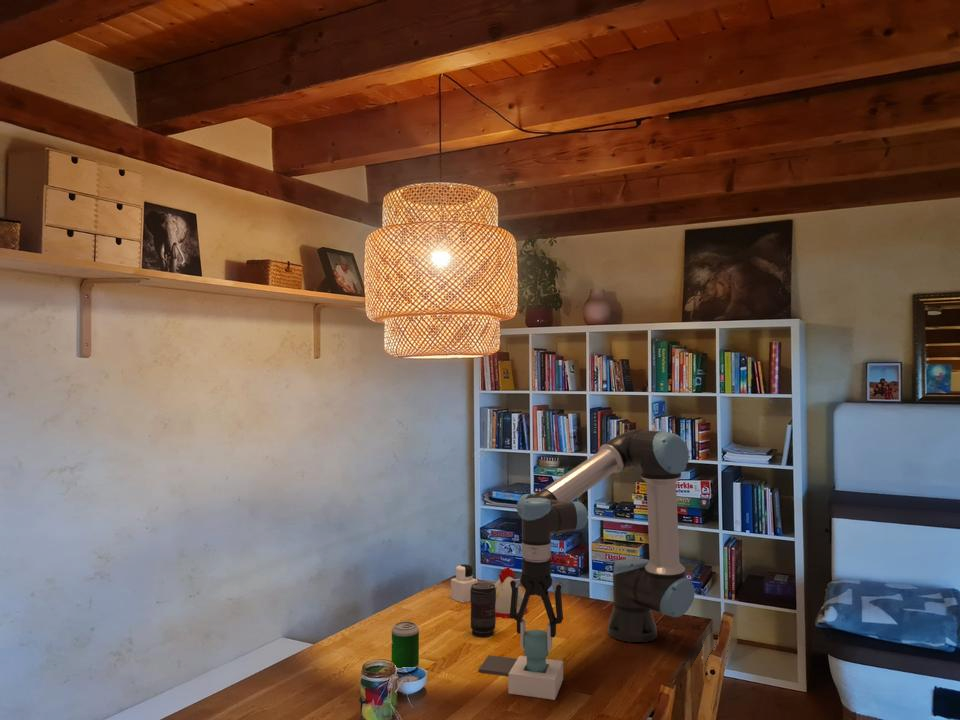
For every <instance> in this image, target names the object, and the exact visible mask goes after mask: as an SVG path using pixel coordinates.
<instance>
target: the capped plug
mask: <svg viewBox="0 0 960 720" xmlns="http://www.w3.org/2000/svg"><path fill="white" fill-rule="evenodd" d="M549 652H550V651H547V631H545V630H542V629H529V630H526V632H525V633H524V648H523V656H526V657H527V671H532V672H540V673H545V672H546V659H547V658H548V656H549V655H550V653H549Z"/></svg>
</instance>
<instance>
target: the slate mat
mask: <svg viewBox="0 0 960 720" xmlns="http://www.w3.org/2000/svg"><path fill="white" fill-rule="evenodd" d="M517 659H518V658H516V657H515V658H514V657H507V656H500V655H491V654H489V655H488V656H487V657H486V658H485V659H484V661H483V662H482V663H481V665H480V667H479V668H478V672H479V673H483V674H491V675H498V676H507V677H509V672H510V670H511V669H512V667H513V666H514V664H515V662H516V661H517Z"/></svg>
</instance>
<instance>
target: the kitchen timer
mask: <svg viewBox="0 0 960 720" xmlns="http://www.w3.org/2000/svg"><path fill="white" fill-rule="evenodd" d="M500 571H501V572H500V574H499V573H498V577H499V579H498V580H496V582H495V583H493V584H494V585H495V588H496V603H495V615H496V618H498V617H502V618H501V619H511V618H510V606H511V595H512V589H511V585H510V582H511V581H512V580H513V579H514V576H515V571H513V569H511V568H510V567H509V566H506V567H504V568H503V569H501V570H500ZM524 594H525V592H524V591H523V589H522V587H521V585H520V586H519V587H518V600H517V612H516V613H519V610H520V607H521V604H522V601H523V598H524ZM526 612H527V613H528V606H527V607H526V610H525V613H524V614H525V615H526V614H527V613H526Z"/></svg>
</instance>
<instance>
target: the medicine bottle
mask: <svg viewBox="0 0 960 720" xmlns="http://www.w3.org/2000/svg"><path fill="white" fill-rule="evenodd" d="M473 572H474V571H473V566H472V565H469V564H459V565H457V566H456V567H455V577H453V578H450V599H451V600H454V601H456V602H459V603H462V604H465V603H469V602H471V601H470V589H471V585H472V584H475V583H479V581H478V579H477V578H476V579H475V578H473V576H474V575H473V574H474V573H473Z"/></svg>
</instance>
